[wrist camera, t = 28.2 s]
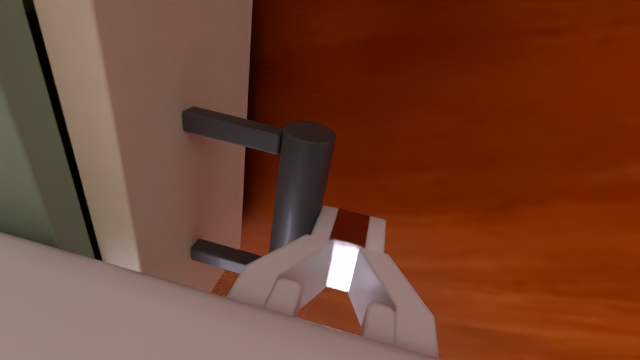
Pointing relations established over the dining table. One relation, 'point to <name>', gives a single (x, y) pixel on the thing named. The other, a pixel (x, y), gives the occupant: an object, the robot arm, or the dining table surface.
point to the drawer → (169, 132)
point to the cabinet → (33, 147)
